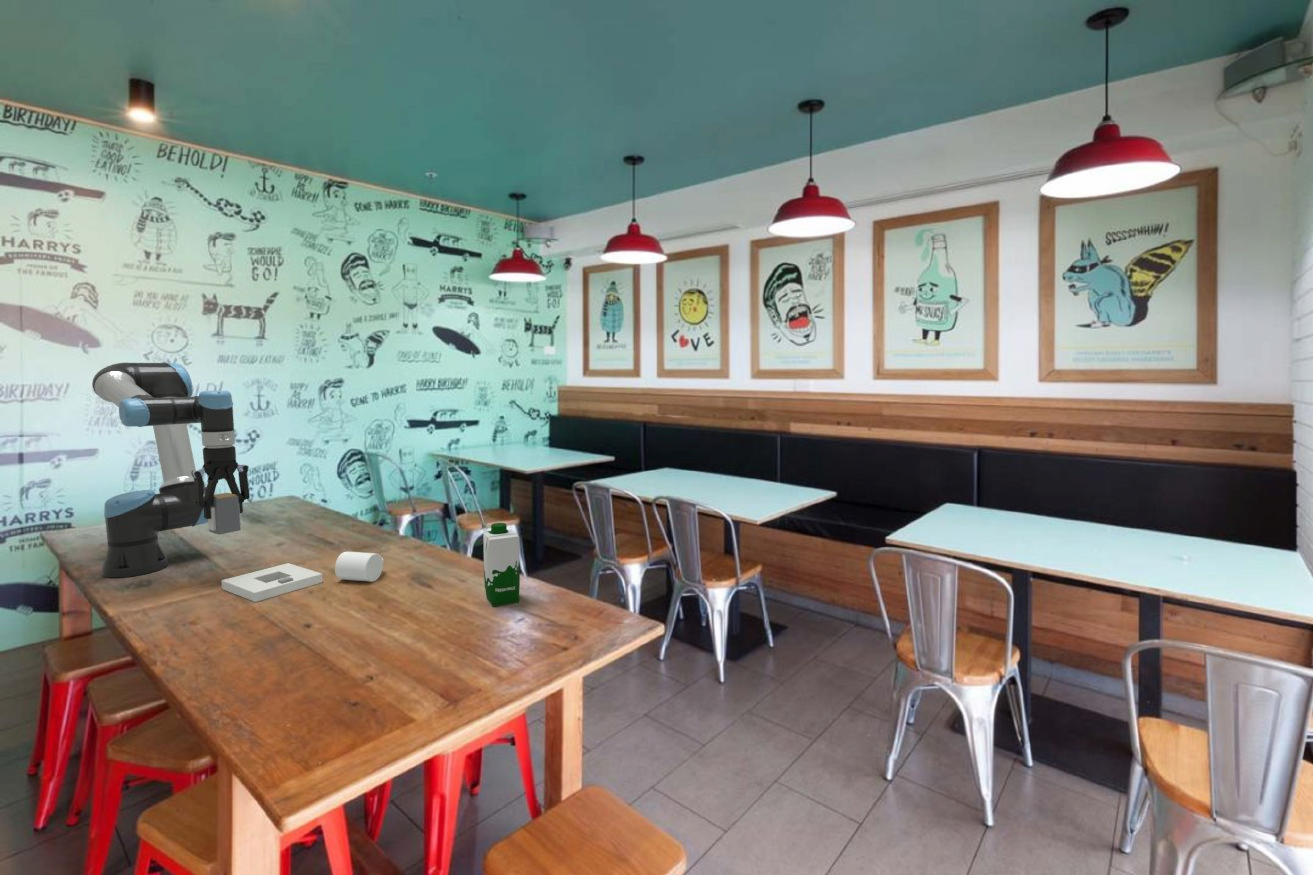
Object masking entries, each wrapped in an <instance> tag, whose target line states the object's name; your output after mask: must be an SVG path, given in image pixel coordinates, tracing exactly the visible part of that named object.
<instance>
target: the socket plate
mask: <svg viewBox="0 0 1313 875" xmlns="http://www.w3.org/2000/svg"><path fill="white" fill-rule="evenodd" d="M322 583H323V573H321V572H318V571H315V570H312V569H309V568H305V567H302V566H298V565H295V564H291V563H289V562H287V563H284V564H279V565H276V566H272V567H268V568H264V569H260V570H256V571H253V572H250V573H245V574H241V575H237V576H233V577H229V578H225V579H221V589H222V590H223V591H225V592H229V593H231V594H234V595H236V596H239V597H241V598H244V599H246V600H249V601H251V602H254V603H257V602H259V601H263V600H268V599H271V598H275V597H277V596H281V595H284V594H287V593H291V592H294V591H295V592H296V591H297V590H301V589H304V588H308V587H311V586H315V585H318V584H322Z"/></svg>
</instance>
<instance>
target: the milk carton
mask: <svg viewBox="0 0 1313 875" xmlns="http://www.w3.org/2000/svg"><path fill="white" fill-rule="evenodd" d="M507 525H508V524H507V523H505V522H496V523H492V524H491V525H490V531H486V532H485V531H484V532H483V572H484V573H483V574H484V578H483V579H484V589H485V597H486V599H487V601H488V602H489V604H490V605H491V607H493V608H495V607H501V606H505V605H510V604H517V603H520V583H521V582H520V581H521V577H520V576H521V575H520V574H521V573H520V571H521V570H520V567H521V566H520V536H519V535H518V533H517V532H515V531H514V529H512V528H509V529H507V527H508V526H507Z"/></svg>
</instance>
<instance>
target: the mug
mask: <svg viewBox="0 0 1313 875" xmlns="http://www.w3.org/2000/svg"><path fill="white" fill-rule="evenodd" d="M384 562H385V560H384V558H383V557H382V556H381V555H380V554H378V553H373V552H359V551H344V552H342V553H341V554H339V555H338V557H337V558H336V561H335V565H334V571H335V575H336V577H337V578H338V579H340V580H346V581H359V582H371V583H373V582H375V581H378V579H379V578H380V576H381V574H382V572H383V568H384Z"/></svg>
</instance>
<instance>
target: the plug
mask: <svg viewBox="0 0 1313 875" xmlns="http://www.w3.org/2000/svg"><path fill="white" fill-rule="evenodd" d="M211 506H212V507H215V520H216V530H214V531H213V530H209V532H210V533H213V534H216V535H224V534H228V533H234V532H240V531H241V525H240V523H241V513H240V514H239V499H238V496H237V495H235V494H232V493H231V492H223V493H218V494H217V493H214V497H213V501H212V505H211Z"/></svg>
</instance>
